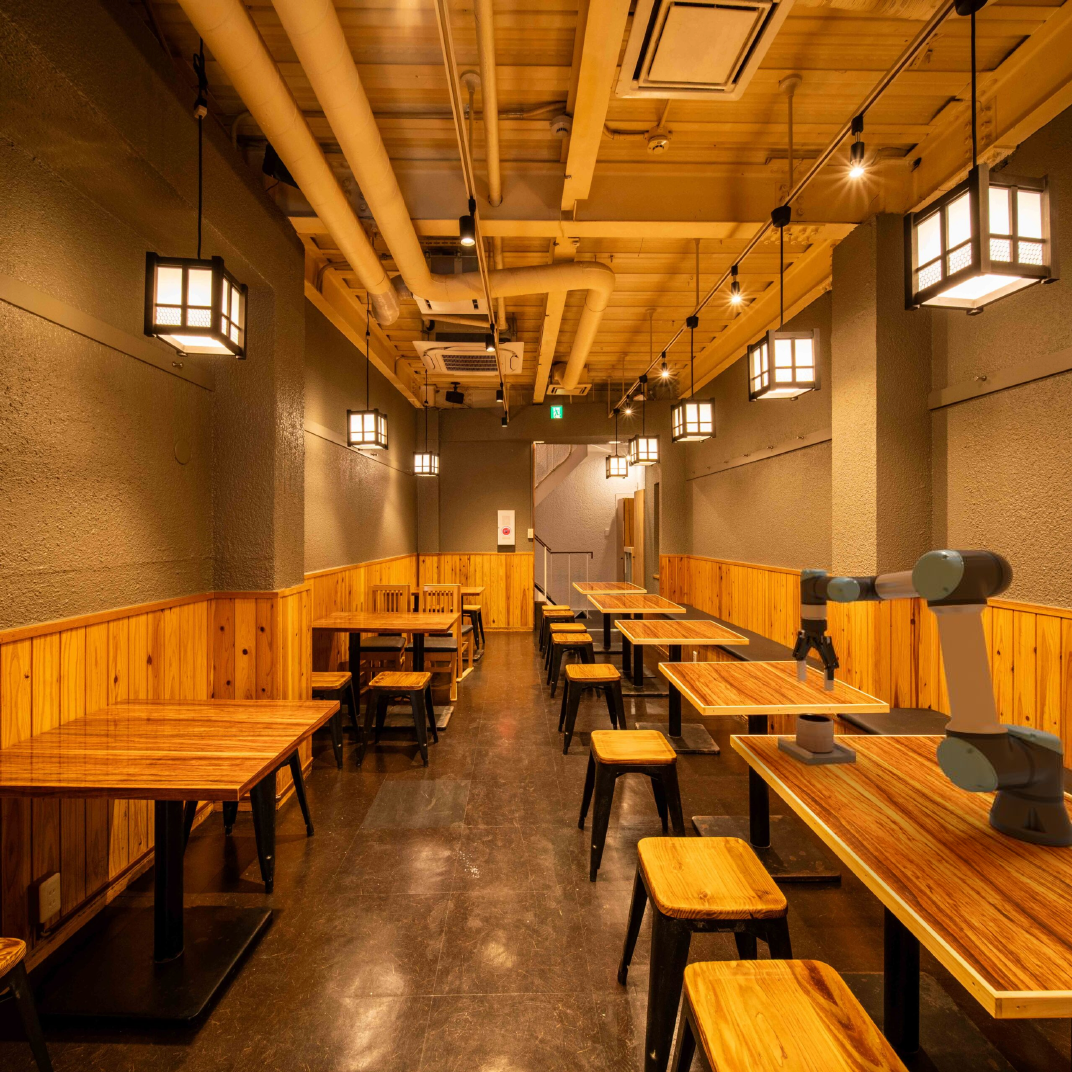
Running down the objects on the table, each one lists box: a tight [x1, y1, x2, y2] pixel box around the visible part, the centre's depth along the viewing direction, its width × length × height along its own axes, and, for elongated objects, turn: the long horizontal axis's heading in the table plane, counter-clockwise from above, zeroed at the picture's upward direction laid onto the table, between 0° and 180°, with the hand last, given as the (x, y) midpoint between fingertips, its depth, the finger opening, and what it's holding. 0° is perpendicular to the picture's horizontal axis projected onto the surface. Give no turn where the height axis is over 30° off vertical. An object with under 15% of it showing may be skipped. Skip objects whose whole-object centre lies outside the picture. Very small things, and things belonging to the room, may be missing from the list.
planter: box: [795, 712, 835, 753], centre depth 186 cm, size 11×11×10 cm
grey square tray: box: [777, 736, 857, 766], centre depth 186 cm, size 16×16×3 cm
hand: (814, 685), depth 187 cm, fingers open, 13 cm apart
